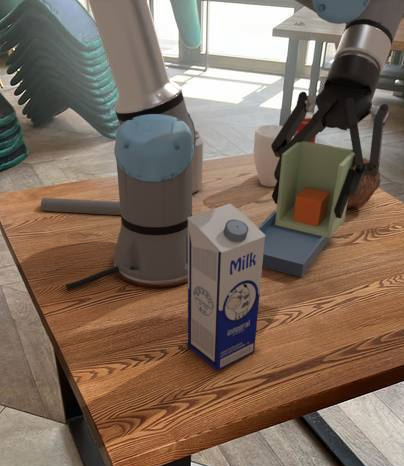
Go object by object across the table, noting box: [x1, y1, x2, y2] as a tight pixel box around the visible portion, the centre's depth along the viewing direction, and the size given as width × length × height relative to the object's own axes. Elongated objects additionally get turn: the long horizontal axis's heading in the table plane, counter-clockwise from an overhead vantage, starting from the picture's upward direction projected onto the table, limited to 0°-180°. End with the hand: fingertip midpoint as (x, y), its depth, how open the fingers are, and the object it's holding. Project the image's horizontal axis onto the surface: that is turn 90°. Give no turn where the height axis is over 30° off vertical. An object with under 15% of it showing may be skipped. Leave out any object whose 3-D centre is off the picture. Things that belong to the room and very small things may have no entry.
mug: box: [253, 124, 294, 188], centre depth 125 cm, size 12×8×11 cm
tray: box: [256, 210, 333, 278], centre depth 104 cm, size 17×12×2 cm
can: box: [192, 129, 204, 194], centre depth 121 cm, size 8×8×12 cm
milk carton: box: [187, 203, 266, 372], centre depth 75 cm, size 7×7×20 cm
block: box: [293, 188, 330, 227], centre depth 88 cm, size 4×4×4 cm
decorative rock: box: [347, 157, 381, 209], centre depth 117 cm, size 13×11×10 cm
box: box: [275, 141, 355, 239], centre depth 86 cm, size 7×9×11 cm
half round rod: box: [40, 197, 121, 216], centre depth 116 cm, size 4×20×2 cm, turn 85°
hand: (306, 207), depth 85 cm, fingers closed on box, 9 cm apart
